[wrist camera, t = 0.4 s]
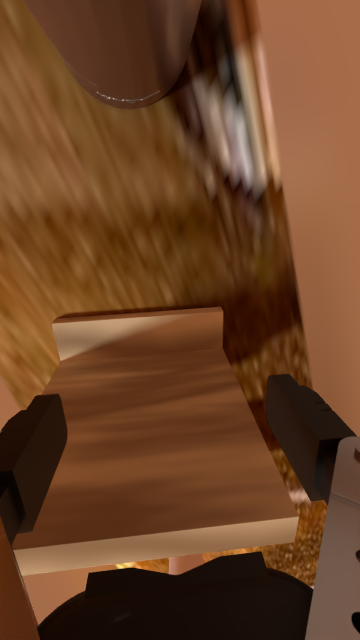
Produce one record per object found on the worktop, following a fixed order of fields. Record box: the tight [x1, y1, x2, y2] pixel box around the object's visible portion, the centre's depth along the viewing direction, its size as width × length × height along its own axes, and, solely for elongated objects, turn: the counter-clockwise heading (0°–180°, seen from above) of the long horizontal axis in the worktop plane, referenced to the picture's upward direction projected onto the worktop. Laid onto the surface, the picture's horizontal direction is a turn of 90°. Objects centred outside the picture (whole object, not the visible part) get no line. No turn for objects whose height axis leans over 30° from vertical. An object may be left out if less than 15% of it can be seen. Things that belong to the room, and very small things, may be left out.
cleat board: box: [12, 307, 299, 576], centre depth 22 cm, size 8×16×18 cm, turn 92°
